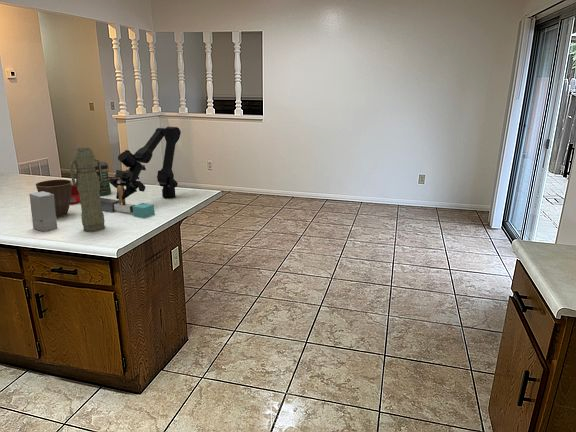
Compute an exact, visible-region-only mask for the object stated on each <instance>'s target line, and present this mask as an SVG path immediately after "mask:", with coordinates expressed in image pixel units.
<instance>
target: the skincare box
mask: <svg viewBox="0 0 576 432" xmlns="http://www.w3.org/2000/svg"><path fill="white" fill-rule="evenodd" d="M28 194H29V195H28V196H29V201H30V212H31V221H32V228H33V230H34V229H35V230H38V231H41V232H47V231H51V230H55V229H58V224H57V223H58V222H57V221H58V220H57V217H56V211H55V201H54V194H50V193H48V192H44V191H42V192H38V191H36V192H31V193H28Z"/></svg>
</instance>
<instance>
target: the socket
mask: <svg viewBox="0 0 576 432" xmlns="http://www.w3.org/2000/svg"><path fill="white" fill-rule="evenodd" d="M134 205H135V206H132V208H133V213H132V216H133V217H134V218H139V219H147V218H149V217H152V216H153V215H155V213H156V212H155V204H154V203H147V202H146V203H145V202H141V203H137V204H134Z"/></svg>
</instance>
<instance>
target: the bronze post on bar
mask: <svg viewBox="0 0 576 432" xmlns="http://www.w3.org/2000/svg"><path fill="white" fill-rule="evenodd" d="M124 189H125V186H124V185H117V188H116V191H117V190H118V199H117V200H119V203H118V202H115V203H112V206H113V210H116V211H115V212H123V213H129V214H133V208H132V206H135V205H136V204H132V203H126V198H125V199H124V200H122V196H123V194H124Z"/></svg>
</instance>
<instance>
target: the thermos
mask: <svg viewBox="0 0 576 432" xmlns="http://www.w3.org/2000/svg"><path fill="white" fill-rule="evenodd" d="M101 162H102V161H100V160H99V159H98V158H95V154H94V152H93V150H92V148H89V147H80V148H77V149H75V152H74V159H73V160H70V163H69V169H70V177H71V181H72V183H73V186H77V189H78V192H79V195H80V202H81V203H80V207H81V213H80V216H81V224H82V227H83V228H82V230H83V231H84V232H87V233H88V232H89V233H90V232H92V233H94V232H99V231H103V230H105V228H106V225H105V222H106V221H105V215H104V211H102V209H101V201H100V198H101V196H100V193H99V190H100V183H101V182H102V181H103V177H102V169H101ZM95 163H98V171H99V177H98V175H97V173H96V169H95V167H96V165H95ZM74 165H75V168H76V176H75V172H74V171H75V170H74ZM99 179H100V180H99ZM75 181H76V183H75Z"/></svg>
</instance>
